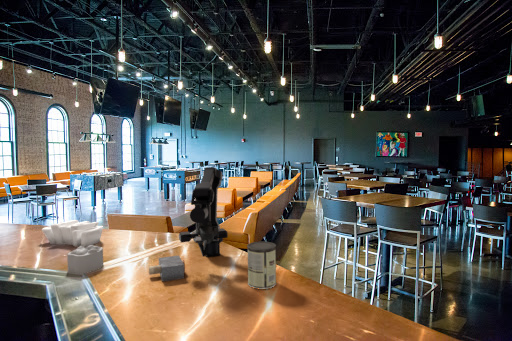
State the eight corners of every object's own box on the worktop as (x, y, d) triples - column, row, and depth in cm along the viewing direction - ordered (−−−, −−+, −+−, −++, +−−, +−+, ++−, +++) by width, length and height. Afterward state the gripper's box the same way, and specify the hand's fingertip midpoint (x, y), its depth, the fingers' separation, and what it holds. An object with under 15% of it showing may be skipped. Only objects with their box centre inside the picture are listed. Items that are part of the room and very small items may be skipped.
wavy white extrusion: (111, 242, 169) (111, 222, 169) (84, 250, 154) (83, 229, 154) (67, 236, 183) (66, 218, 183) (38, 243, 168) (37, 223, 168)
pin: (183, 269, 127) (182, 258, 126) (185, 273, 122) (184, 262, 122) (149, 274, 122) (148, 262, 122) (149, 278, 117) (149, 266, 117)
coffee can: (253, 277, 120) (252, 240, 119) (279, 280, 116) (279, 242, 116) (243, 287, 110) (242, 247, 109) (271, 291, 107) (271, 250, 106)
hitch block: (179, 267, 130) (179, 255, 129) (183, 278, 119) (183, 264, 118) (158, 270, 127) (158, 257, 126) (161, 281, 116) (161, 267, 115)
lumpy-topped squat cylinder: (64, 271, 127) (63, 250, 126) (92, 261, 138) (92, 242, 138) (81, 275, 122) (81, 253, 122) (109, 264, 134) (109, 244, 134)
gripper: (182, 223, 115) (183, 265, 116) (231, 219, 122) (231, 259, 123) (178, 218, 126) (178, 256, 126) (223, 214, 133) (223, 251, 133)
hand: (203, 256), depth 127 cm, fingers closed
